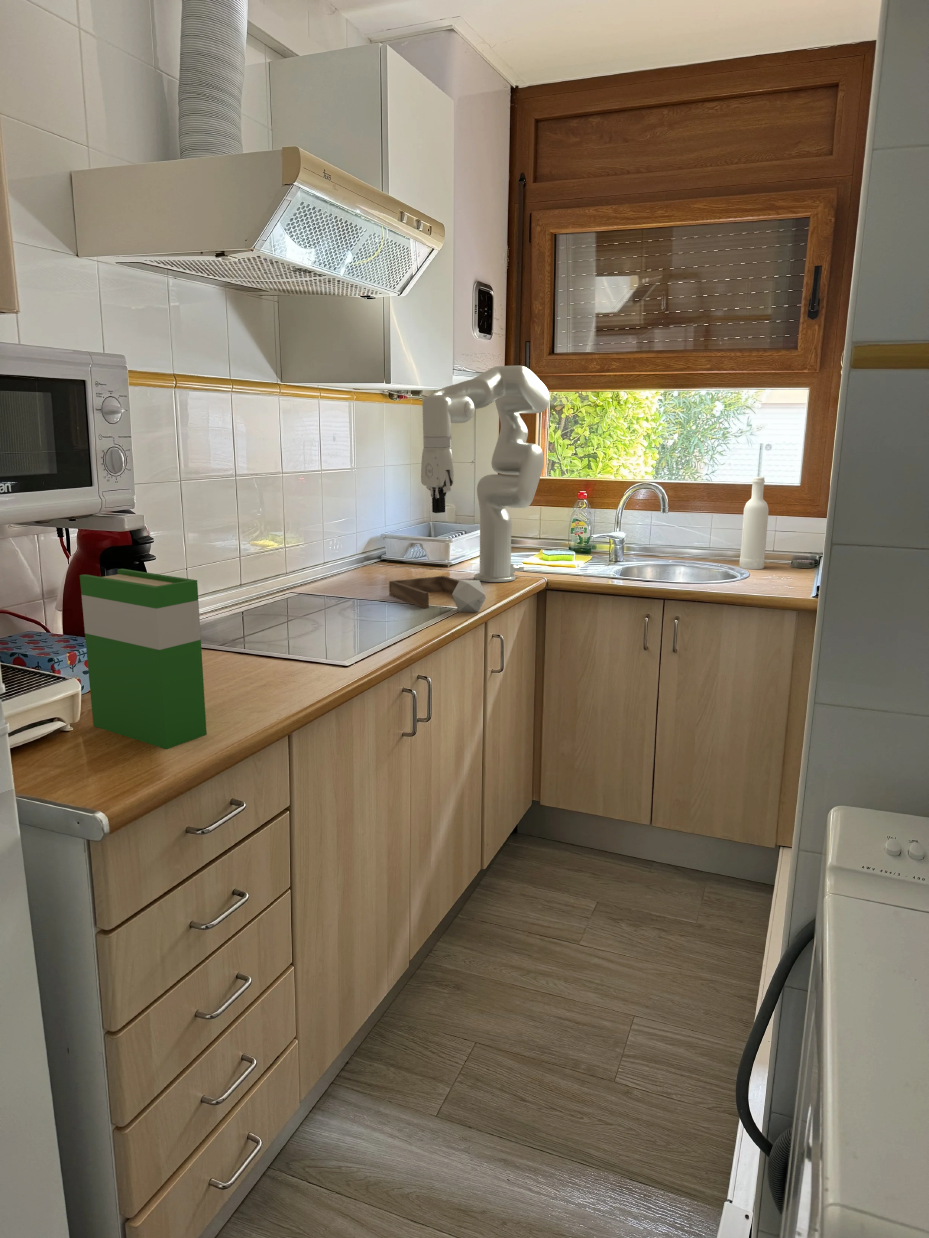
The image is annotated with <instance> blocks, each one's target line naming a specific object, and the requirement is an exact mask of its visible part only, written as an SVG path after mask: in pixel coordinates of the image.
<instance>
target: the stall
mask: <svg viewBox="0 0 929 1238" xmlns="http://www.w3.org/2000/svg"><path fill="white" fill-rule="evenodd" d="M460 580H461V579H459V580H458V579H456V578H453V577H449V576H445V575H439V576H431V577H430V576H428V577H419V578H417V577H416V578H409V579H399V580H389V581H388V582H389V583H388V589H389V591H388V592H389V593H388V594H389V595H388V596H390V597H392V598H396V599H398V600H401V601H404V602H406V603H409V604H411V605H415V606H417V607H419V608H423V609H429V608H430V605H429V604H430V593H432V592H441V591H442V592H446V593H448V594H451V595H452V593H453V592H454V590H455V588H456V586H457V584H458V582H459V581H460Z"/></svg>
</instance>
